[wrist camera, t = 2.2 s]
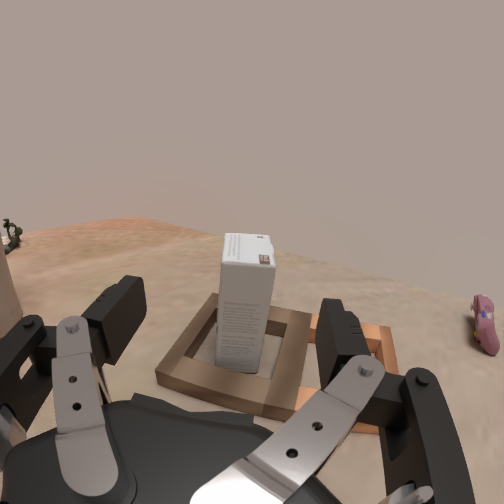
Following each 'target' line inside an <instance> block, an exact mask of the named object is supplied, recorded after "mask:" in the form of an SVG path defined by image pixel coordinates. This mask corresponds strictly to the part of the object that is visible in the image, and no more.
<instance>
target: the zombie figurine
mask: <svg viewBox="0 0 504 504" xmlns="http://www.w3.org/2000/svg"><path fill="white" fill-rule="evenodd" d="M4 221H6V223H4V224H5V225H4V228H5V227H6V228H7V232H8V237H9V239H10V240H11V242H10V243H9V244H8V245H3V247H4V251H5V254H8V253H9V252H10V251H11V250H13V249H14V248H15V247H16V246H17V245H18V244H19V242H20V237H19V236H20V235H21V234H22V229H21V228H20V227H16V225H15V224H14V223H9V219H4ZM10 226H12V227H15V231H14V232H15V235H16V236H15V235H14V236H15V238H13V237H11V236H10V232H9V228H10Z"/></svg>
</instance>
